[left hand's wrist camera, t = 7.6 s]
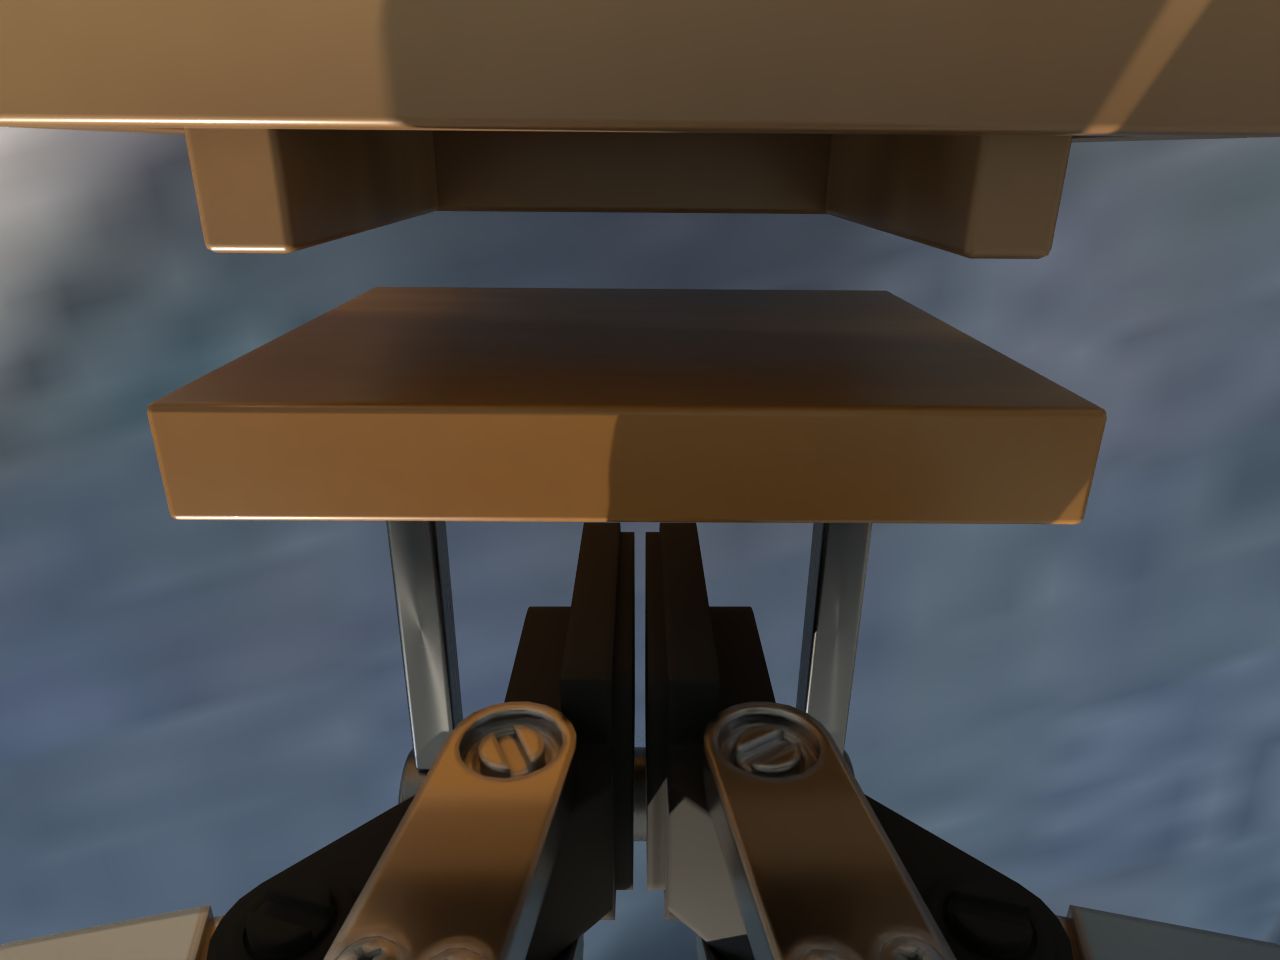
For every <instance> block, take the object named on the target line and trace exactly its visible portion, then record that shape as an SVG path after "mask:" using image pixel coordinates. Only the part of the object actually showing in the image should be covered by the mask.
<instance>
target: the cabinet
mask: <svg viewBox="0 0 1280 960" xmlns="http://www.w3.org/2000/svg"><path fill="white" fill-rule="evenodd" d="M0 126H4V127H22V128H45V129H68V130H92V131H115V132H139V133H162V134H185V132H184V128H232V129H346V130H460V131H574V132H689V133H803V134H917V135H1031V136H1072V141H1071V142H1104V141H1142V140H1180V139H1219V138H1247V137H1280V0H0Z"/></svg>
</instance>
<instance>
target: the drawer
mask: <svg viewBox="0 0 1280 960" xmlns="http://www.w3.org/2000/svg"><path fill="white" fill-rule="evenodd" d="M184 132H185V137H186V143H187V148H188V154H189V159H190V165H191V170H192V176H193V181H194V187H195V192H196V197H197V203H198V208H199V214H200V219H201V225H202V230H203V236H204V241H205V244H206V246H207V248H208V249H210V250H212V251H214V252H217V253H290V252H294V251H297V250H301V249H304V248H308V247H311V246H315V245H318V244H322V243H325V242H329V241H332V240H336V239H339V238H343V237H346V236H350V235H353V234H357V233H360V232H364V231H367V230H371V229H374V228H377V227H381V226H384V225H388V224H391V223H395V222H398V221H402V220H405V219H409V218H412V217H416V216H419V215H423V214H426V213H430V212H433V211H520V212H645V213H770V214H830V215H833V216H836V217H839V218H843V219H846V220H849V221H852V222H855V223H859V224H862V225H865V226H868V227H871V228H875V229H878V230H881V231H884V232H888V233H891V234H894V235H897V236H900V237H904V238H907V239H910V240H913V241H916V242H920V243H923V244H926V245H929V246H932V247H936V248H939V249H942V250H945V251H948V252H952V253H955V254H958V255H961V256H964V257H968V258H994V259H1039V258H1042V257H1044V256H1047V255H1048V254H1049V252H1050V250H1051V247H1052V242H1053V236H1054V231H1055V226H1056V221H1057V215H1058V210H1059V205H1060V199H1061V194H1062V189H1063V183H1064V178H1065V173H1066V168H1067V162H1068V157H1069V152H1070V146H1071V141H1072V136H1031V135H917V134H803V133H689V132H574V131H460V130H346V129H232V128H184ZM147 413H148V418H149V422H150V427H151V431H152V435H153V440H154V444H155V449H156V453H157V458H158V462H159V467H160V471H161V475H162V480H163V484H164V489H165V493H166V498H167V502H168V506H169V511H170V514H171V516H172V517H173V518H175V519H178V520H364V521H386V523H387V531H388V540H389V548H390V557H391V565H392V574H393V582H394V590H395V599H396V607H397V616H398V624H399V633H400V641H401V650H402V658H403V667H404V675H405V684H406V692H407V700H408V709H409V717H410V726H411V734H412V743H413V749H412V750H411V751H410V753H409V755H408V757H407V760H406V762H405V765H404V769H403V773H402V778H401V783H400V791H399V804H400V803H402V802H403V801H405V800H407V799H409V798H410V797H412V796H414V795H415V794H416V793H417V791H418V789H419V788H420V786H421V784H422V782H423V780H424V779H425V777H426V775H427V773H428V772H429V770H430V768H431V766H432V764H433V763H434V761H435V759H436V757H437V755H438V754H439V752H440V750H441V748H442V746H443V745H444V743H445V741H446V739H447V738H448V736H449V734H450V733H451V732H452V731H453V729H454V728H455V727H456V726H457V725H458V723H459V722H461V721H462V720H463V715H462V704H461V693H460V681H459V670H458V659H457V648H456V636H455V625H454V614H453V603H452V591H451V580H450V569H449V557H448V546H447V535H446V524H445V521H563V522H763V523H814V525H813V535H812V546H811V556H810V567H809V577H808V588H807V598H806V609H805V619H804V629H803V640H802V650H801V661H800V671H799V682H798V692H797V703H796V709H799V710H801V711H804V712H806V713H808V714H809V715H811V716H812V717H813V718H815V719H816V720H818V721H819V722H821V723H822V725H823V726H824V727H825V728H826V729H827V731H828V732H829V733H830V734H831V736H832V738H833V739H834V741H835V743H836V745H837V746H838V748H839V750H840V752H841V754H842V755H843V757H844V759H845V761H846V763H847V764H848V766H849V768H850V770H851V772H852V773H853V775H854V771H853V767H852V764H851V761H850V759H849V756H848V754H847V753H846V751H845V750H844V745H845V737H846V729H847V721H848V713H849V705H850V697H851V689H852V681H853V673H854V665H855V657H856V649H857V641H858V633H859V625H860V617H861V609H862V601H863V593H864V585H865V577H866V569H867V561H868V553H869V545H870V537H871V529H872V523H962V524H1077V523H1081V521H1082V520H1083V518H1084V514H1085V510H1086V505H1087V501H1088V497H1089V492H1090V488H1091V483H1092V479H1093V475H1094V470H1095V466H1096V462H1097V457H1098V453H1099V449H1100V444H1101V440H1102V436H1103V431H1104V427H1105V423H1106V412H1105V410H1104V409H1102V408H1101V407H1099V406H1097V405H1095V404H1093V403H1091V402H1090V401H1088V400H1086V399H1084V398H1082V397H1080V396H1079V395H1077V394H1075V393H1073V392H1071V391H1069V390H1068V389H1066V388H1064V387H1062V386H1060V385H1058V384H1057V383H1055V382H1053V381H1051V380H1049V379H1047V378H1046V377H1044V376H1042V375H1040V374H1038V373H1036V372H1035V371H1033V370H1031V369H1029V368H1027V367H1025V366H1024V365H1022V364H1020V363H1018V362H1016V361H1014V360H1013V359H1011V358H1009V357H1007V356H1005V355H1003V354H1002V353H1000V352H998V351H996V350H994V349H992V348H991V347H989V346H987V345H985V344H983V343H981V342H980V341H978V340H976V339H974V338H972V337H970V336H969V335H967V334H965V333H963V332H961V331H959V330H958V329H956V328H954V327H952V326H950V325H948V324H947V323H945V322H943V321H941V320H939V319H937V318H936V317H934V316H932V315H930V314H928V313H926V312H925V311H923V310H921V309H919V308H917V307H915V306H914V305H912V304H910V303H908V302H906V301H904V300H903V299H901V298H899V297H897V296H895V295H893V294H892V293H890V292H888V291H845V290H707V289H569V288H431V287H376V288H374V289H372V290H370V291H368V292H366V293H364V294H362V295H360V296H358V297H356V298H354V299H352V300H350V301H348V302H346V303H344V304H342V305H341V306H339V307H337V308H335V309H333V310H331V311H329V312H327V313H325V314H323V315H321V316H319V317H317V318H315V319H313V320H311V321H309V322H307V323H306V324H304V325H302V326H300V327H298V328H296V329H294V330H292V331H290V332H288V333H286V334H284V335H282V336H280V337H278V338H276V339H274V340H273V341H271V342H269V343H267V344H265V345H263V346H261V347H259V348H257V349H255V350H253V351H251V352H249V353H247V354H245V355H243V356H241V357H239V358H238V359H236V360H234V361H232V362H230V363H228V364H226V365H224V366H222V367H220V368H218V369H216V370H214V371H212V372H210V373H208V374H206V375H205V376H203V377H201V378H199V379H197V380H195V381H193V382H191V383H189V384H187V385H185V386H183V387H181V388H179V389H177V390H175V391H173V392H171V393H170V394H168V395H166V396H164V397H162V398H160V399H158V400H156V401H154V402H152V403H150V404H149V406H148V411H147ZM854 777H855V776H854ZM633 841H647V826H646V747H634V833H633Z"/></svg>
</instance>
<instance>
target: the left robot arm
mask: <svg viewBox="0 0 1280 960" xmlns="http://www.w3.org/2000/svg"><path fill="white" fill-rule="evenodd" d="M645 723H646V826H647V890H664V900H665V920H681V921H682V922H683V923H685V924H686V925H687V926H688V927H689V928H691V929H692V930H693V931H694V932H695V933H697V934H696V950H697V960H1280V946H1279V945H1276V944H1273V943H1269V942H1264V941H1259V940H1253V939H1248V938H1243V937H1237V936H1232V935H1227V934H1221V933H1216V932H1211V931H1206V930H1200V929H1195V928H1190V927H1184V926H1179V925H1174V924H1168V923H1163V922H1158V921H1153V920H1147V919H1142V918H1137V917H1131V916H1126V915H1121V914H1115V913H1110V912H1105V911H1100V910H1094V909H1089V908H1084V907H1078V906H1073V905H1070V906H1069V910H1068V914H1067V917H1062V916H1057V915H1055V914H1054V913H1053V912H1052V911H1051V910H1050V909H1049V908H1048V907H1047V906H1046V905H1045V903H1044V902H1043V901H1042V900H1041V899H1040V898H1038V897H1037V896H1035V895H1034V894H1033V893H1031V892H1030V891H1028V890H1027V889H1026V888H1024V887H1023V886H1021V885H1020V884H1019V883H1017V882H1015V881H1013V880H1012V879H1010V878H1008V877H1006V876H1005V875H1003V874H1001V873H1000V872H998V871H996V870H994V869H993V868H991V867H989V866H987V865H986V864H984V863H982V862H980V861H979V860H977V859H975V858H974V857H972V856H970V855H968V854H967V853H965V852H963V851H961V850H960V849H958V848H956V847H955V846H953V845H951V844H949V843H948V842H946V841H944V840H942V839H941V838H939V837H937V836H936V835H934V834H932V833H930V832H929V831H927V830H925V829H923V828H922V827H920V826H918V825H917V824H915V823H913V822H911V821H910V820H908V819H906V818H904V817H903V816H901V815H899V814H898V813H896V812H894V811H892V810H891V809H889V808H887V807H885V806H884V805H882V804H880V803H878V802H877V801H875V800H873V799H872V798H870V797H868V796H866V795H865V794H864V793H863V791H862V789H861V788H860V786H859V784H858V782H857V780H856V779H855V777H854V775H853V773H852V772H851V770H850V768H849V766H848V764H847V763H846V761H845V759H844V757H843V755H842V754H841V752H840V750H839V748H838V746H837V745H836V743H835V741H834V739H833V738H832V736H831V734H830V733H829V732H828V731H827V729H826V728H825V727H824V726H823V725H822V723H821V722H819V721H818V720H816V719H815V718H813V717H812V716H811V715H809V714H808V713H806V712H804V711H801V710H799V709H796V708H794V707H791V706H789V705H784V704H779V703H776V702H775V698H774V694H773V690H772V686H771V682H770V678H769V674H768V670H767V666H766V662H765V658H764V654H763V650H762V646H761V642H760V638H759V634H758V630H757V626H756V622H755V618H754V614H753V611H752V608H751V607H709V604H708V597H707V591H706V584H705V578H704V571H703V565H702V558H701V552H700V545H699V539H698V532H697V526H696V523H660V532H646V610H645ZM634 731H635V582H634V532H621V530H620V523H584V526H583V533H582V539H581V546H580V552H579V559H578V565H577V572H576V578H575V585H574V591H573V598H572V604H571V607H529V608H528V611H527V614H526V618H525V622H524V626H523V630H522V634H521V638H520V642H519V646H518V650H517V654H516V658H515V662H514V666H513V670H512V674H511V678H510V682H509V686H508V690H507V694H506V698H505V702H504V703H501V704H496V705H491V706H489V707H486V708H484V709H481V710H479V711H476V712H474V713H472V714H471V715H469V716H468V717H467V718H465V719H464V720H462V721H461V722H459V723H458V725H457V726H456V727H455V728H454V729H453V731H452V732H451V733H450V734H449V736H448V738H447V739H446V741H445V743H444V745H443V746H442V748H441V750H440V752H439V754H438V755H437V757H436V759H435V761H434V763H433V764H432V766H431V768H430V770H429V772H428V773H427V775H426V777H425V779H424V780H423V782H422V784H421V786H420V788H419V789H418V791H417V793H416V794H415V795H414V796H412V797H410V798H409V799H407V800H405V801H403V802H402V803H400V804H398V805H396V806H395V807H393V808H391V809H389V810H388V811H386V812H384V813H383V814H381V815H379V816H377V817H376V818H374V819H372V820H370V821H369V822H367V823H365V824H364V825H362V826H360V827H358V828H357V829H355V830H353V831H351V832H350V833H348V834H346V835H345V836H343V837H341V838H339V839H338V840H336V841H334V842H332V843H331V844H329V845H327V846H326V847H324V848H322V849H320V850H319V851H317V852H315V853H313V854H312V855H310V856H308V857H306V858H305V859H303V860H301V861H300V862H298V863H296V864H294V865H293V866H291V867H289V868H287V869H286V870H284V871H282V872H281V873H279V874H277V875H275V876H274V877H272V878H270V879H268V880H267V881H265V882H263V883H262V884H260V885H259V886H257V887H256V888H254V889H253V890H252V891H250V892H249V893H247V894H246V895H245V896H243V897H242V898H240V899H239V900H238V901H237V902H236V904H235V905H234V906H233V907H232V908H231V909H230V910H229V911H228V912H227V913H226V914H225V915H223V916H218V917H213V913H212V910H211V906H210V905H207V906H202V907H196V908H191V909H186V910H181V911H175V912H170V913H165V914H159V915H154V916H149V917H143V918H138V919H133V920H128V921H122V922H117V923H112V924H106V925H101V926H96V927H90V928H85V929H80V930H74V931H69V932H64V933H59V934H53V935H48V936H43V937H37V938H32V939H27V940H21V941H16V942H11V943H7V944H4V945H1V946H0V960H583V950H584V934H583V933H585V932H586V931H587V930H588V929H589V928H591V927H592V926H593V925H594V924H595V923H597V922H598V921H599V920H615V902H616V890H633V833H634Z"/></svg>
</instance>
